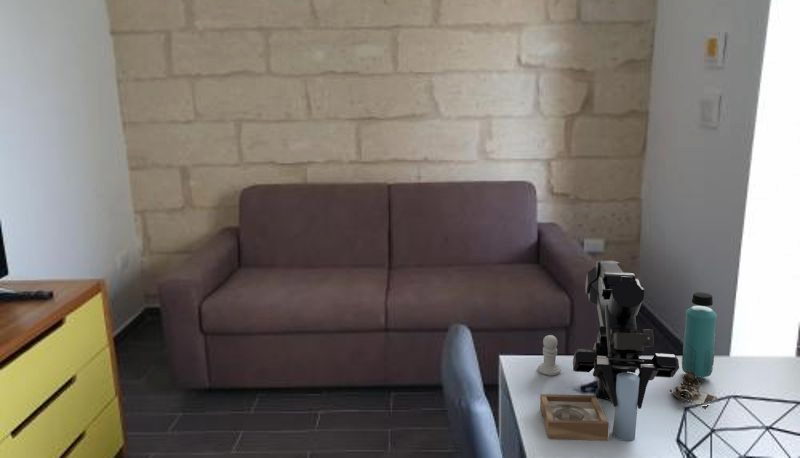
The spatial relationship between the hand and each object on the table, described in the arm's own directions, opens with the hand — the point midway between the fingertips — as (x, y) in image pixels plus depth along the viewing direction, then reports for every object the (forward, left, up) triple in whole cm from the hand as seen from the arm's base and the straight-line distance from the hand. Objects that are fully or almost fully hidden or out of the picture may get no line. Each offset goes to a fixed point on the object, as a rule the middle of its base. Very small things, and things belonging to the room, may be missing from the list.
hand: (627, 407), depth 112 cm
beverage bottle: (-32, +15, -7) cm, 36 cm away
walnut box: (-2, -10, -7) cm, 12 cm away
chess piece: (-25, -17, -7) cm, 31 cm away
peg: (-1, 0, -7) cm, 7 cm away
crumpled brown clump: (-20, +13, -7) cm, 25 cm away
